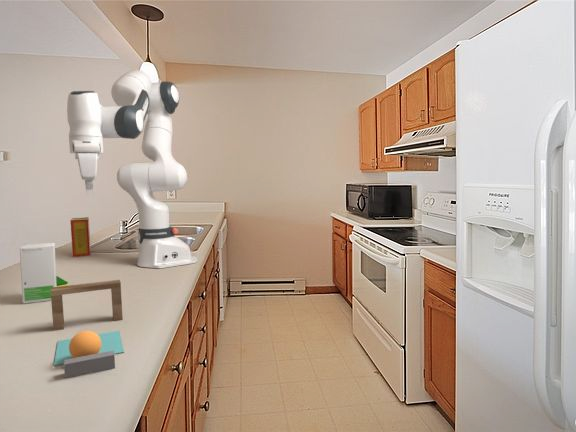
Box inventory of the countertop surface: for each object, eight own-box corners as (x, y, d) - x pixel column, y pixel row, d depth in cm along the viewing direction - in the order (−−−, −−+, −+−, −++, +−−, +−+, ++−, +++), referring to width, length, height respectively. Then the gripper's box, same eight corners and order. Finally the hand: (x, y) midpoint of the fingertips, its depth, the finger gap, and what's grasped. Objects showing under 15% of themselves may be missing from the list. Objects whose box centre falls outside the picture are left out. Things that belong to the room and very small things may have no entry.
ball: (100, 332, 81) (99, 324, 77) (102, 359, 79) (102, 353, 75) (69, 337, 79) (66, 330, 74) (71, 366, 77) (68, 360, 72)
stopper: (114, 363, 75) (113, 350, 75) (115, 367, 74) (114, 354, 73) (65, 373, 72) (64, 359, 72) (65, 378, 70) (64, 364, 70)
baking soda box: (89, 255, 174) (87, 218, 172) (72, 257, 171) (70, 219, 169) (90, 251, 182) (88, 216, 181) (74, 252, 180) (71, 217, 178)
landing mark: (119, 331, 91) (119, 330, 90) (124, 352, 80) (123, 351, 80) (57, 341, 85) (57, 340, 85) (54, 366, 75) (54, 365, 75)
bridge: (54, 326, 94) (51, 287, 93) (121, 315, 100) (119, 279, 99) (53, 330, 91) (50, 290, 90) (122, 319, 98) (120, 282, 97)
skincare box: (22, 304, 110) (17, 248, 108) (24, 297, 116) (20, 244, 114) (57, 299, 114) (53, 245, 112) (58, 293, 119) (54, 241, 118)
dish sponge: (42, 294, 120) (42, 286, 120) (30, 285, 130) (29, 278, 130) (68, 289, 125) (68, 282, 125) (55, 281, 135) (54, 274, 135)
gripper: (75, 148, 126) (78, 193, 127) (73, 145, 107) (77, 197, 109) (97, 149, 128) (100, 192, 130) (99, 145, 110) (102, 196, 112)
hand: (89, 194), depth 119 cm, fingers closed
